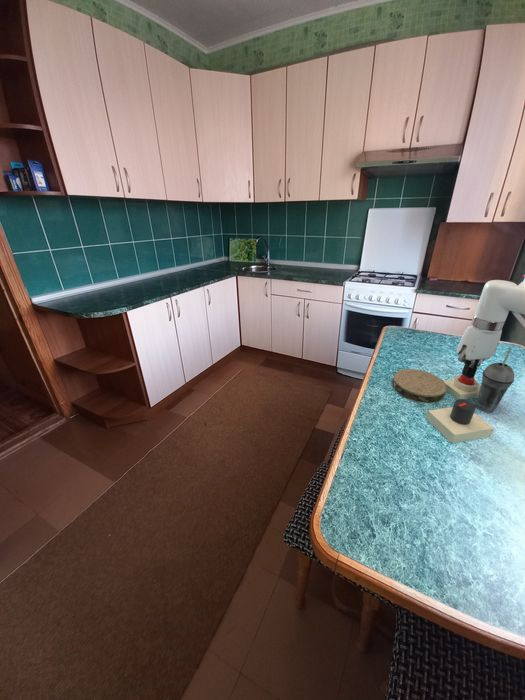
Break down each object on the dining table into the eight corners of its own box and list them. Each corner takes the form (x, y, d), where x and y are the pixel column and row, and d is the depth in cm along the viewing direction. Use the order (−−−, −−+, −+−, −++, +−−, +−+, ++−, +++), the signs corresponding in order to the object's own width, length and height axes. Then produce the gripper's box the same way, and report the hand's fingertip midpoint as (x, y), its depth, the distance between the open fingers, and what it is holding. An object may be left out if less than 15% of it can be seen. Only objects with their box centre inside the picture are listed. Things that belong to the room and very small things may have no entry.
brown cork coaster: (444, 409, 89) (447, 401, 87) (388, 394, 96) (390, 386, 94) (444, 383, 101) (446, 375, 99) (395, 372, 108) (396, 365, 106)
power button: (466, 378, 97) (467, 373, 96) (476, 384, 93) (477, 380, 93) (455, 379, 96) (457, 375, 95) (465, 386, 93) (467, 381, 92)
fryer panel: (461, 413, 87) (464, 404, 85) (490, 436, 78) (494, 427, 77) (425, 418, 85) (428, 410, 83) (451, 443, 76) (454, 434, 75)
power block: (465, 382, 101) (469, 373, 99) (485, 396, 94) (489, 386, 92) (440, 386, 99) (443, 376, 97) (458, 400, 92) (462, 390, 90)
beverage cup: (466, 407, 89) (489, 349, 80) (475, 398, 93) (497, 342, 84) (495, 419, 84) (522, 359, 75) (502, 409, 88) (529, 350, 79)
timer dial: (457, 411, 83) (463, 396, 80) (474, 421, 79) (480, 406, 76) (445, 415, 81) (451, 400, 79) (462, 426, 77) (468, 411, 75)
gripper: (497, 316, 90) (477, 367, 98) (455, 320, 87) (438, 372, 96) (520, 326, 83) (497, 379, 92) (475, 330, 81) (456, 385, 89)
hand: (467, 375), depth 94 cm, fingers closed
